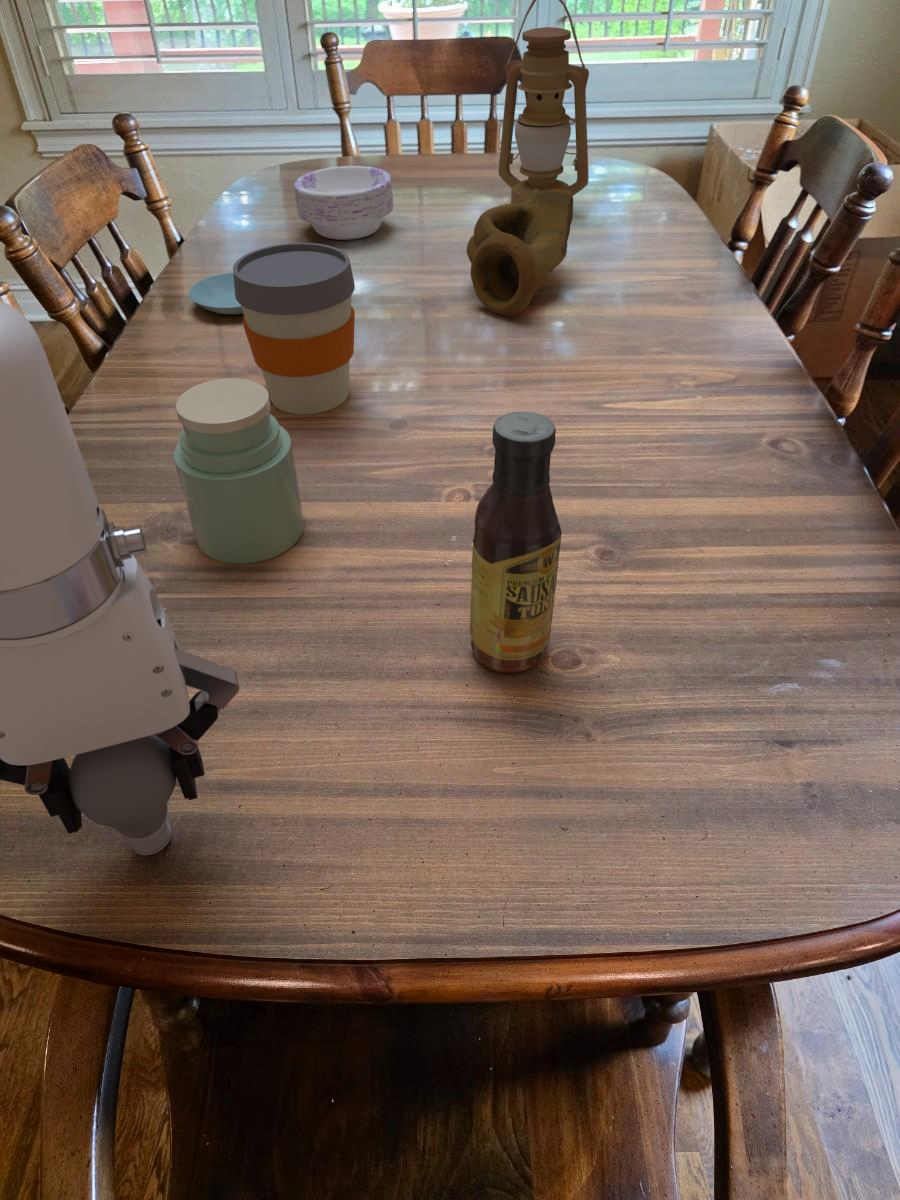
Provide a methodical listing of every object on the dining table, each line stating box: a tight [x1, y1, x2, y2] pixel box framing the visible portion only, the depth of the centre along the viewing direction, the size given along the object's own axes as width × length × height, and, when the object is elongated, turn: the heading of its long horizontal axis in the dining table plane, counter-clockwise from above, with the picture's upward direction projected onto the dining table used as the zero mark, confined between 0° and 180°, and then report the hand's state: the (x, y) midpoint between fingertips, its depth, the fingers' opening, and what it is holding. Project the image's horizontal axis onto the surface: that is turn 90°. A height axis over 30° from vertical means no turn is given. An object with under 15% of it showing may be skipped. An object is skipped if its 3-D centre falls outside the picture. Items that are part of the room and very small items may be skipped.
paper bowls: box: [293, 165, 394, 241], centre depth 137 cm, size 15×15×8 cm
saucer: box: [188, 272, 244, 316], centre depth 118 cm, size 12×12×2 cm
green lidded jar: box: [173, 377, 305, 565], centre depth 76 cm, size 10×10×14 cm
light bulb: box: [69, 734, 177, 856], centre depth 53 cm, size 6×6×10 cm
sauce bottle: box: [469, 411, 563, 674], centre depth 62 cm, size 6×6×20 cm
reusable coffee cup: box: [232, 242, 356, 415], centre depth 95 cm, size 13×13×15 cm
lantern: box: [498, 0, 590, 204], centre depth 135 cm, size 15×10×30 cm
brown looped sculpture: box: [466, 188, 574, 317], centre depth 119 cm, size 18×13×22 cm
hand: (132, 795), depth 53 cm, fingers open, 6 cm apart
